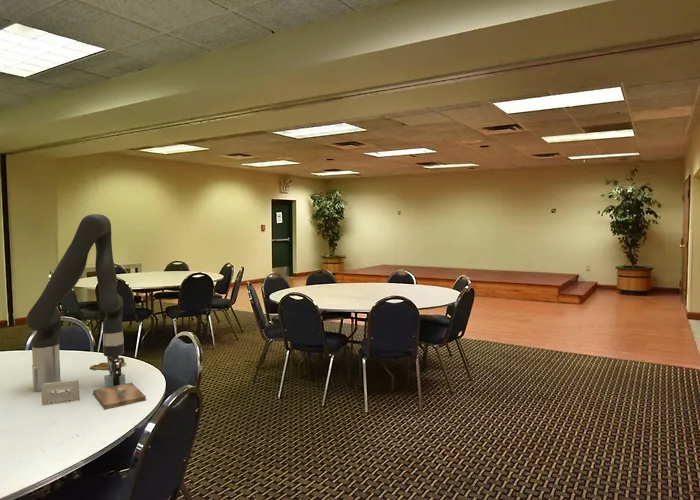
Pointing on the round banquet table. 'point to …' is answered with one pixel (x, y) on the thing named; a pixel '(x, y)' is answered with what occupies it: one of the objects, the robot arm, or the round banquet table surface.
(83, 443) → the round banquet table surface
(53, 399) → the cassette
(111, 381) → the grey-green box
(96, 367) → the gold looped flat piece
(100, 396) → the board
